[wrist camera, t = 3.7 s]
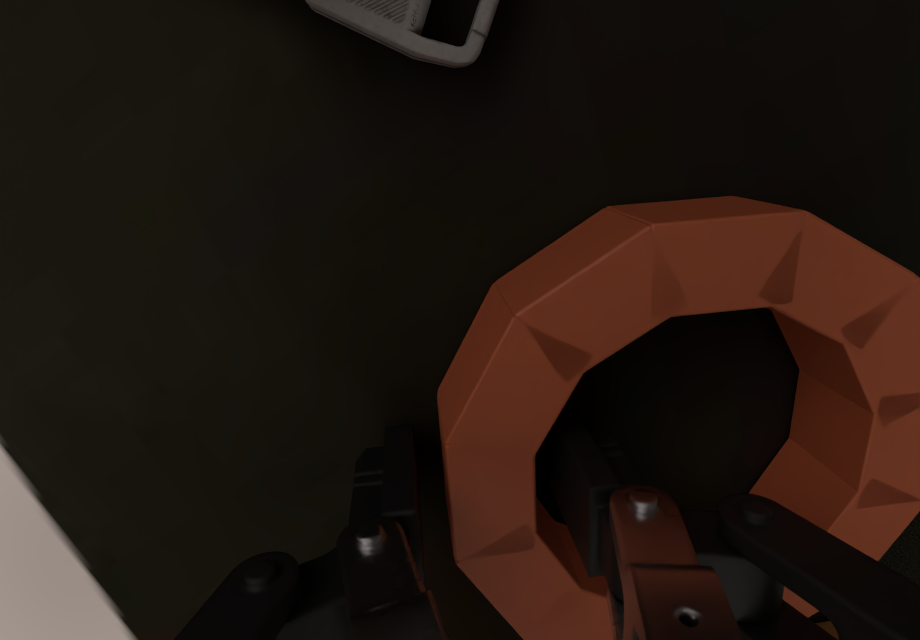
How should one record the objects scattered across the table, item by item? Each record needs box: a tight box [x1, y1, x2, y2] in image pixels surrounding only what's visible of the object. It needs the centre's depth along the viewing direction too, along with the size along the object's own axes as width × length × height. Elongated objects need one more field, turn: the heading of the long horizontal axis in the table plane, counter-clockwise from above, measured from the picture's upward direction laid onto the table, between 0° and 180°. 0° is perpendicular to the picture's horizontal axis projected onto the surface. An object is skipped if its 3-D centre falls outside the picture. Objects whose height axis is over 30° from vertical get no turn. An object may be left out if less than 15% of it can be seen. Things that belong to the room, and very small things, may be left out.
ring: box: [437, 196, 920, 640], centre depth 14 cm, size 12×12×3 cm
